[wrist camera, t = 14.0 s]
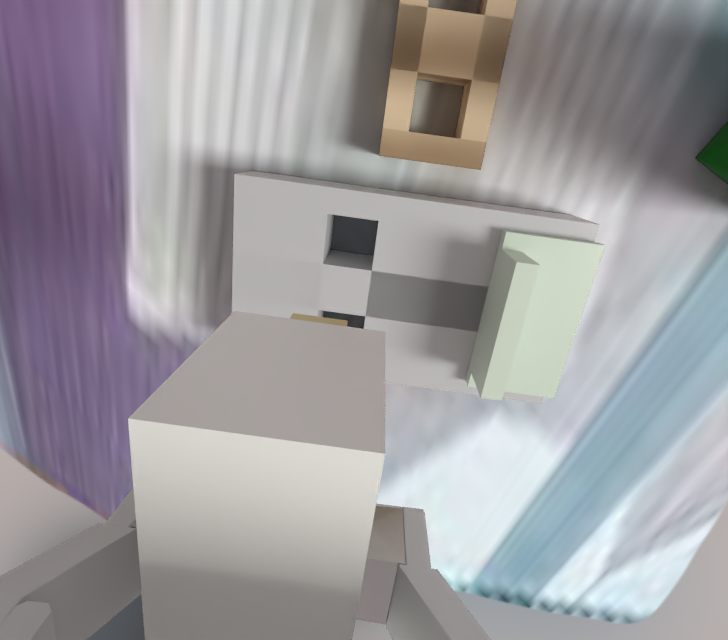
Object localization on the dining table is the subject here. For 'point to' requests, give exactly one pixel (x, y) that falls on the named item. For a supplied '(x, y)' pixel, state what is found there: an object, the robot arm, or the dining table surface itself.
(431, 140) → the holder
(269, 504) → the plug
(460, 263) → the socket
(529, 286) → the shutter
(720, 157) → the milk carton
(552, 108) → the dining table surface
